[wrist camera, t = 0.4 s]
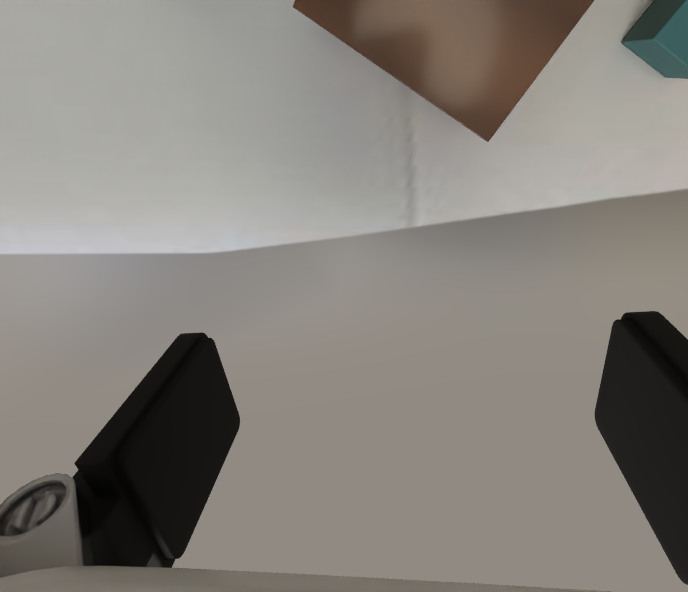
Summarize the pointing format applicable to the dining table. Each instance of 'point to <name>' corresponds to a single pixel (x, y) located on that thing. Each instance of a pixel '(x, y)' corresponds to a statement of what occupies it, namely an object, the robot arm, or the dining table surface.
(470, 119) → the box lid
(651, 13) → the block
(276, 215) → the dining table surface
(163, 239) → the dining table surface
